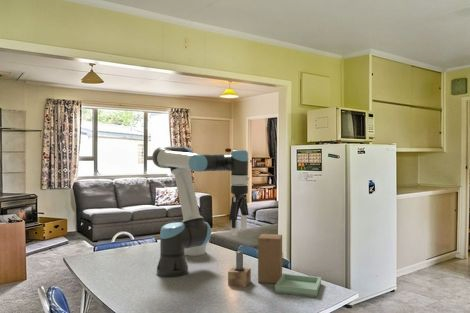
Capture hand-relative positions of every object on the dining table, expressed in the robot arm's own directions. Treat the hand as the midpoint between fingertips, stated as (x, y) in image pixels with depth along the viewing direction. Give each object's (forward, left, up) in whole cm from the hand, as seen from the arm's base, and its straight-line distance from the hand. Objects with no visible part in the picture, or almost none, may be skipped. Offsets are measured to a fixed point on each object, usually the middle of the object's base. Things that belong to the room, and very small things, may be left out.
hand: (239, 232), depth 169 cm
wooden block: (+12, +9, -23) cm, 27 cm away
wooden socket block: (0, 0, -23) cm, 23 cm away
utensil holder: (-42, +43, -23) cm, 64 cm away
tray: (+26, +2, -23) cm, 35 cm away
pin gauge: (0, 0, -23) cm, 23 cm away
